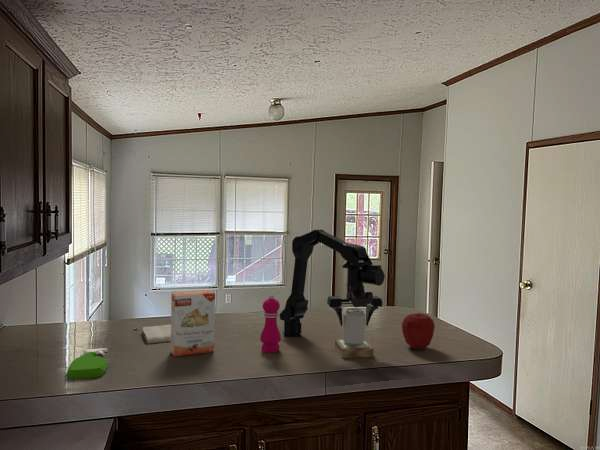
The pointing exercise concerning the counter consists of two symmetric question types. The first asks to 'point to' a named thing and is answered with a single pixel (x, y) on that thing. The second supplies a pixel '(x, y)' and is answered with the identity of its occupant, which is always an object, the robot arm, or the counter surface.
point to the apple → (418, 330)
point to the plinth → (353, 349)
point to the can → (354, 326)
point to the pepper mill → (270, 326)
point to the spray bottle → (88, 365)
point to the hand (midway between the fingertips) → (354, 325)
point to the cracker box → (192, 322)
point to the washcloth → (157, 333)
